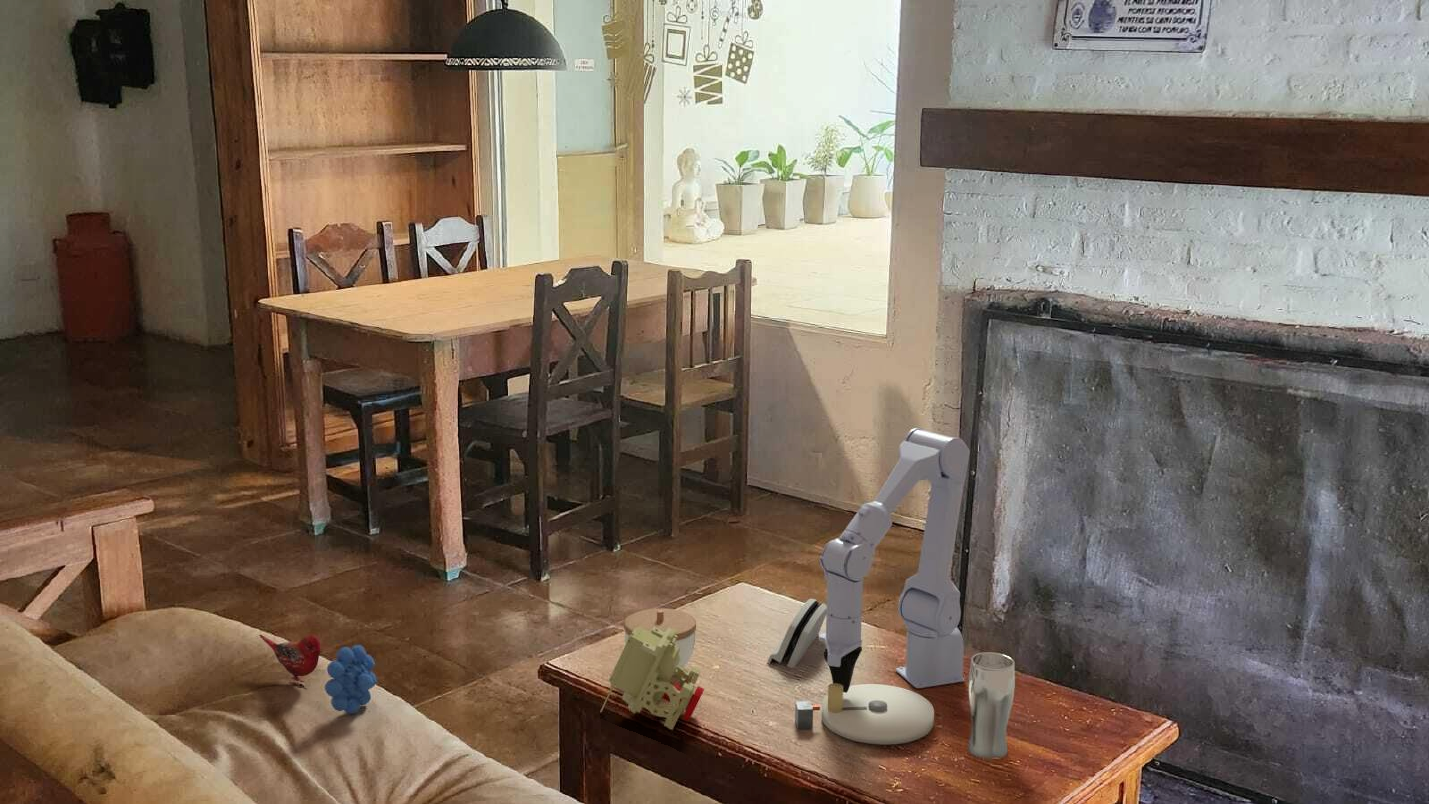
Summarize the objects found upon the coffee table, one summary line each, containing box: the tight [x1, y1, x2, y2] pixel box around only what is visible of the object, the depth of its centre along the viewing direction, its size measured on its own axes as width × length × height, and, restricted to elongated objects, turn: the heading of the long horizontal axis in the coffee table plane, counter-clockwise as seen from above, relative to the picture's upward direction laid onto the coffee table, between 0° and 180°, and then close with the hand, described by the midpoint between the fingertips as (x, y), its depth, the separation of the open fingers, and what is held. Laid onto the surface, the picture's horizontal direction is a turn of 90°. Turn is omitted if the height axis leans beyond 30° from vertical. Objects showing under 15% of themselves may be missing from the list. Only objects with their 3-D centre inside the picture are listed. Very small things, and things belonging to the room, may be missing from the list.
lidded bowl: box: [623, 607, 697, 670], centre depth 234 cm, size 13×13×11 cm
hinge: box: [766, 598, 827, 669], centre depth 244 cm, size 17×5×10 cm, turn 160°
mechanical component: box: [599, 626, 743, 731], centre depth 216 cm, size 8×17×20 cm, turn 79°
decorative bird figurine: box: [259, 634, 323, 682], centre depth 228 cm, size 3×18×10 cm, turn 53°
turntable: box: [821, 682, 935, 745], centre depth 215 cm, size 18×18×6 cm
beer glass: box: [967, 651, 1016, 760], centre depth 205 cm, size 7×7×15 cm
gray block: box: [794, 700, 821, 731], centre depth 215 cm, size 4×3×4 cm
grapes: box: [324, 644, 378, 715], centre depth 216 cm, size 12×7×12 cm, turn 157°
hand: (841, 690), depth 219 cm, fingers closed
